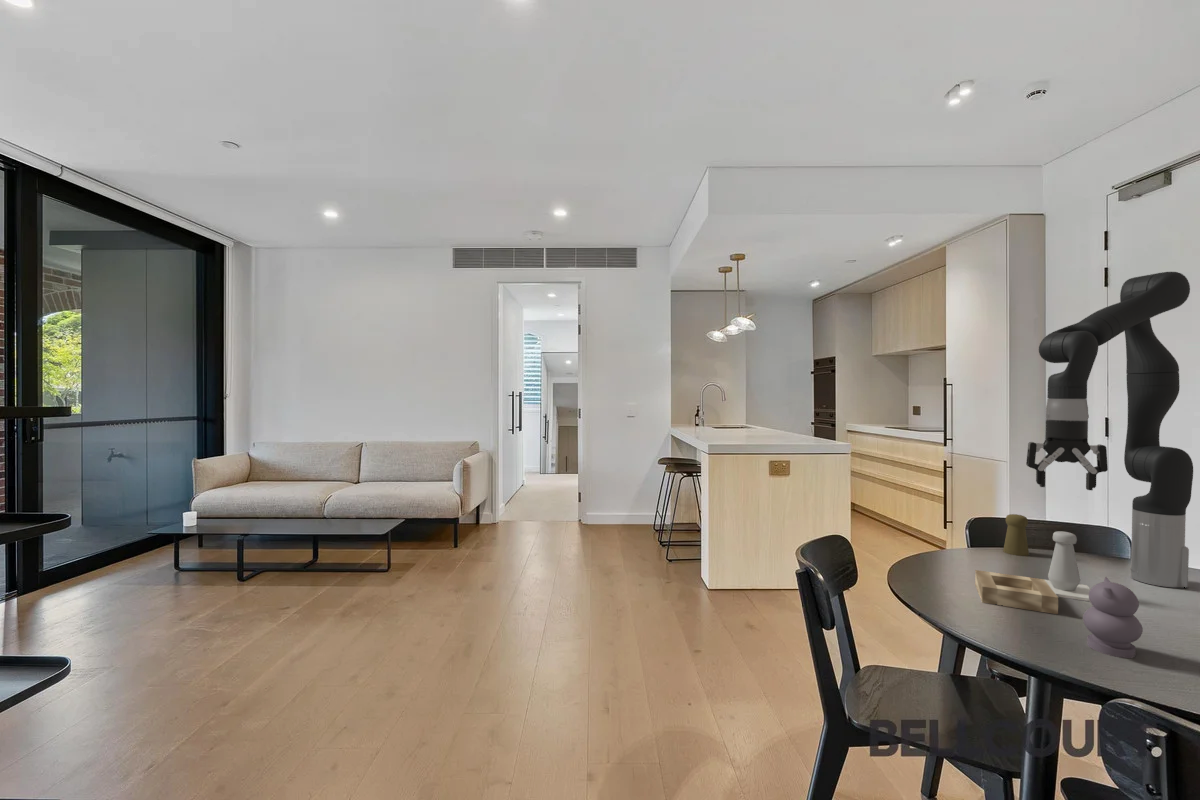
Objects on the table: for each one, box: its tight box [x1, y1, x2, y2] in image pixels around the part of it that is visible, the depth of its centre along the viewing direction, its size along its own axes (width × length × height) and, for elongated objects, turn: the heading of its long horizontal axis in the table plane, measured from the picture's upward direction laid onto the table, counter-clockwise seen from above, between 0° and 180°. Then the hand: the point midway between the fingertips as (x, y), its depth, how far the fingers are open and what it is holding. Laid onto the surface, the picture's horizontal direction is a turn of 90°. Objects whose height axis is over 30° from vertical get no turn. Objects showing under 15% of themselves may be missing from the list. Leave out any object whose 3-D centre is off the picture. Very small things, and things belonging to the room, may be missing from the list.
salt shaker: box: [1047, 530, 1081, 591], centre depth 129 cm, size 6×6×13 cm
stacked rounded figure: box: [1082, 576, 1144, 659], centre depth 99 cm, size 8×8×12 cm
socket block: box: [974, 569, 1059, 615], centre depth 124 cm, size 13×13×4 cm
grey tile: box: [1044, 579, 1091, 602], centre depth 129 cm, size 11×11×1 cm
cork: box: [1002, 513, 1030, 557], centre depth 160 cm, size 6×6×11 cm
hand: (1065, 488), depth 129 cm, fingers open, 8 cm apart
